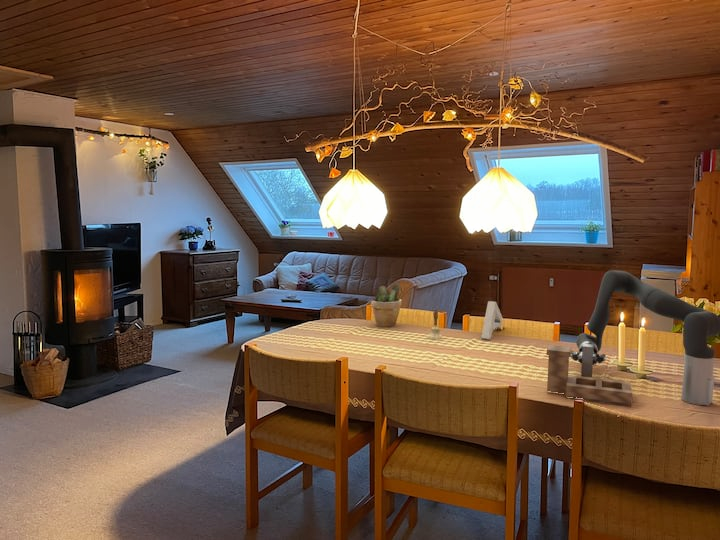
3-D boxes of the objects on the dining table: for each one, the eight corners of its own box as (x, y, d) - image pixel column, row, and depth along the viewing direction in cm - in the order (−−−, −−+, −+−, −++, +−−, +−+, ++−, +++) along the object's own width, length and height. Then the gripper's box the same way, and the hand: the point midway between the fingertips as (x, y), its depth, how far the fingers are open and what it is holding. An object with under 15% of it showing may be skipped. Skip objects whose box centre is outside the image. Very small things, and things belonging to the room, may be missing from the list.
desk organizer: (629, 394, 211) (632, 351, 209) (631, 406, 198) (634, 360, 196) (547, 384, 223) (549, 343, 221) (544, 395, 210) (546, 351, 208)
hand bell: (445, 339, 299) (445, 309, 298) (430, 339, 298) (431, 310, 296) (439, 335, 307) (440, 307, 306) (425, 336, 306) (426, 307, 304)
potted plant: (388, 330, 320) (388, 287, 318) (364, 325, 333) (364, 284, 330) (407, 325, 334) (407, 284, 331) (383, 320, 346) (383, 281, 344)
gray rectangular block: (591, 383, 225) (593, 344, 223) (591, 386, 220) (593, 347, 219) (581, 381, 227) (582, 343, 225) (580, 385, 222) (582, 346, 220)
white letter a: (499, 359, 319) (489, 338, 296) (491, 358, 321) (481, 337, 298) (505, 324, 328) (496, 301, 305) (497, 323, 330) (488, 301, 307)
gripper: (570, 341, 238) (568, 350, 222) (607, 344, 232) (607, 354, 217) (569, 358, 239) (567, 368, 223) (606, 361, 233) (606, 373, 217)
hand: (587, 361), depth 220 cm, fingers closed on gray rectangular block, 4 cm apart
